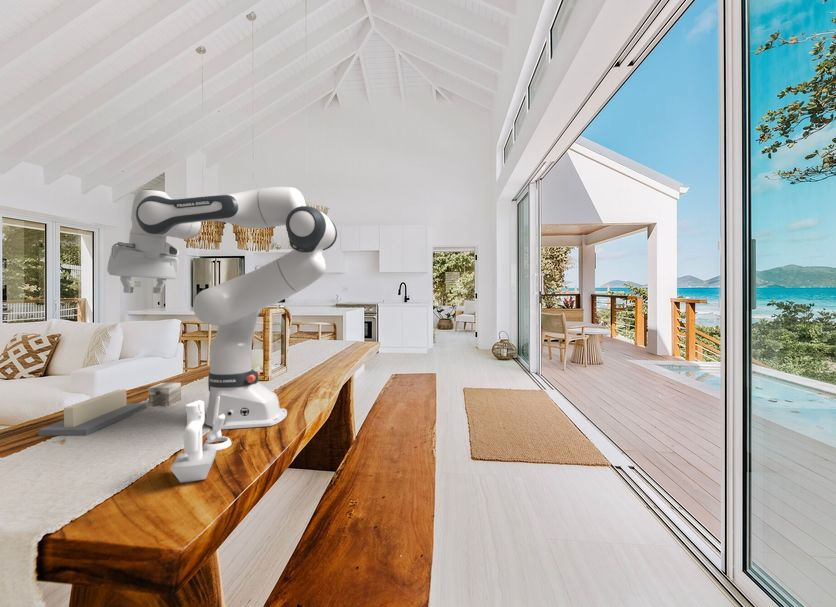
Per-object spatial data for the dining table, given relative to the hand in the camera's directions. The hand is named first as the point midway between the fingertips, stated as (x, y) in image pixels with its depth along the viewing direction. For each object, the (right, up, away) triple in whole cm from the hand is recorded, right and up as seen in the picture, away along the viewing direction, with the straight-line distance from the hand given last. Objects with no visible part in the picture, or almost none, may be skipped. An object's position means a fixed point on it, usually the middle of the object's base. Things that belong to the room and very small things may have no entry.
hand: (143, 293), depth 115 cm
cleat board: (-12, -37, -1) cm, 39 cm away
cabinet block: (-4, -37, +16) cm, 40 cm away
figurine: (+35, -38, -35) cm, 63 cm away
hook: (+32, -38, -20) cm, 53 cm away
